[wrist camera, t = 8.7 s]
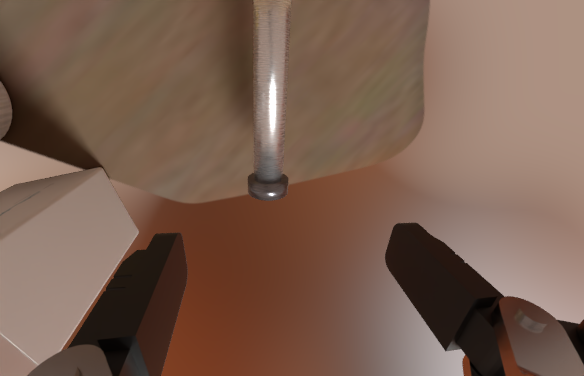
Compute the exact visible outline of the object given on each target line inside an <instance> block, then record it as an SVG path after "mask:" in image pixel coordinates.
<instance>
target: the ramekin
mask: <svg viewBox="0 0 584 376" xmlns="http://www.w3.org/2000/svg"><path fill="white" fill-rule="evenodd" d="M11 120H12V106H11V101H10V98H9V95H8V93H7V91H6V89H5V87H4V86H3V84H2V82H1V81H0V140H1V138H2V137H4V136H5V134H6V132H7V131H8V130H9V126H10V125H11Z"/></svg>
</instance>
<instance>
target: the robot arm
mask: <svg viewBox="0 0 584 376" xmlns="http://www.w3.org/2000/svg"><path fill="white" fill-rule="evenodd" d="M385 260H386V265H387V267H388V269H389V271H390V272H391V274H392V275H393V276H394V278H395V279H396V281H397V282H398V284H399V285H400V287H401V288H402V289H403V291H404V292H405V294H406V295H407V297H408V298H409V299H410V301H411V302H412V304H413V305H414V306H415V308H416V309H417V311H418V312H419V314H420V315H421V317H422V318H423V319H424V321H425V322H426V324H427V325H428V326H429V328H430V329H431V331H432V332H433V334H434V335H435V336H436V338H437V339H438V341H439V342H440V344H441V345H442V347H443V348H444V349H445V351H451V350H457V349H462V350H463V352H464V353H465V354H466V355H465V356H464V358H463V361H462V364H463V374H464V376H584V320H583V321H582V322H581V323H580V324H576V323H571V322H566V321H560V320H556V319H555V318H554V317H553V316H552V315H551V314H549V313H548V312H546V311H545V310H544V309H542V308H540V307H539V306H537V305H535V304H533V303H531V302H529V301H526V300H524V299H521V298H517V297H511V296H507V297H504V296H503V295H502V294H501V293H500V292H499V291H498V290H496V289H495V288H494V287H493V286H492V285H491V284H490V283H489V282H487V281H486V280H485V279H484V278H483V277H482V276H481V275H480V274H478V273H477V272H476V271H475V270H474V269H473V268H472V267H470V266H469V265H468V264H467V263H465V262H464V260H463V259H462V258H460V257H459V256H458V255H455V252H454V251H453V250H452V249H450V248H449V247H448V246H447V245H446V244H445V243H444V242H442V241H440V240H438V239H437V238H434V237H433V236H432V235H430V234H429V233H428V232H427V231H426V230H425V229H424V228H423V227H421V226H420V225H419V224H418V223H398V224H396V225H395V226H394V227H393V230H392V234H391V237H390V240H389V244H388V247H387V250H386V254H385ZM186 283H187V263H186V256H185V250H184V244H183V238H182V235H181V233H161V234H155V235H154V237H153V238H152V241H151V242H150V244H149V246H148V247H147V249H146V250H137V251H136V252H134V253H133V254H132V255H131V256H129V257H128V258H127V259H126V260H125V261H123V262H122V264H121V265H120V267H119V269H118V270H117V272H116V273H115V275H114V278H113V279H112V280H111V281H110V283H109V284H108V286H107V287H106V291H104V292H103V294H102V295H101V297H100V299H99V300H98V302H97V303H96V305H95V306H94V308H93V310H92V311H91V313H90V314H89V316H88V318H87V319H86V320H85V322H84V324H83V325H82V327H81V329H80V330H79V332H78V333H77V335H76V336H75V338H74V339H73V341H72V343H71V344H70V345H69V347H68V348H67V349H65V350H63V351H61V352H59V353H57V354H55V355H53V356H51V357H50V358H48V359H46V360H45V361H44V362H42V363H41V364H39V365H38V366H37V367H36V368H35V369H34V370H32V371H31V372H30V373H29V374H28V375H27V376H161V373H162V370H163V366H164V362H165V359H166V356H167V352H168V348H169V344H170V341H171V338H172V334H173V330H174V327H175V323H176V320H177V316H178V312H179V309H180V305H181V301H182V298H183V294H184V291H185V287H186Z"/></svg>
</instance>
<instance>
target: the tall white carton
mask: <svg viewBox="0 0 584 376" xmlns="http://www.w3.org/2000/svg"><path fill="white" fill-rule="evenodd" d="M138 233H139V231H138V229H137V227H136V225H135V224H134V222H133V220H132V218H131V217H130V215H129V213H128V211H127V210H126V208H125V206H124V204H123V203H122V201H121V199H120V197H119V196H118V194H117V192H116V190H115V189H114V187H113V185H112V183H111V182H110V180H109V178H108V176H107V175H106V173H105V171H104V169H103V168H101V167H98V168H93V169H88V170H84V171H79V172H74V173H69V174H64V175H60V176H55V177H50V178H45V179H40V180H35V181H31V182H26V183H21V184H16V185H13V186H11V187H9V188H7V189H6V190H3V191H2V192H0V376H27V375H28V374H29V373H30V372H31V371H32V370H34V369H35V368H36V367H37V366H38V365H39V364H41V363H42V362H44V361H45V360H46V359H48V358H50V357H51V356H53V355H55V354H57V353H59V352H60V351H61V350H62V348H63V347H64V345H65V344H66V342H67V340H68V339H69V337H70V336H71V334H72V333H73V331H74V330H75V328H76V327H77V325H78V324H79V322H80V321H81V319H82V318H83V316H84V315H85V313H86V312H87V310H88V309H89V307H90V306H91V304H92V303H93V301H94V300H95V298H96V297H97V295H98V294H99V292H100V290H101V289H102V287H103V286H104V284H105V283H106V281H107V280H108V278H109V277H110V275H111V274H112V272H113V271H114V269H115V268H116V266H117V265H118V263H119V262H120V260H121V259H122V257H123V256H124V254H125V253H126V251H127V249H128V248H129V246H130V245H131V243H132V242H133V241H134V239H135V237H136V236H137V234H138Z"/></svg>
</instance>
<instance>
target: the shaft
mask: <svg viewBox="0 0 584 376" xmlns="http://www.w3.org/2000/svg"><path fill="white" fill-rule="evenodd" d="M291 1H292V0H253V91H254V173H252V174H251V175H249V176H248V193H249V195H250V196H252V197H254V198H256V199H259V200H277V199H281V198H283V197H285V196H286V195H287V192H288V177H287V176H286V175H284V174H283V157H284V138H285V118H286V99H287V79H288V59H289V40H290V20H291Z"/></svg>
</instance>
